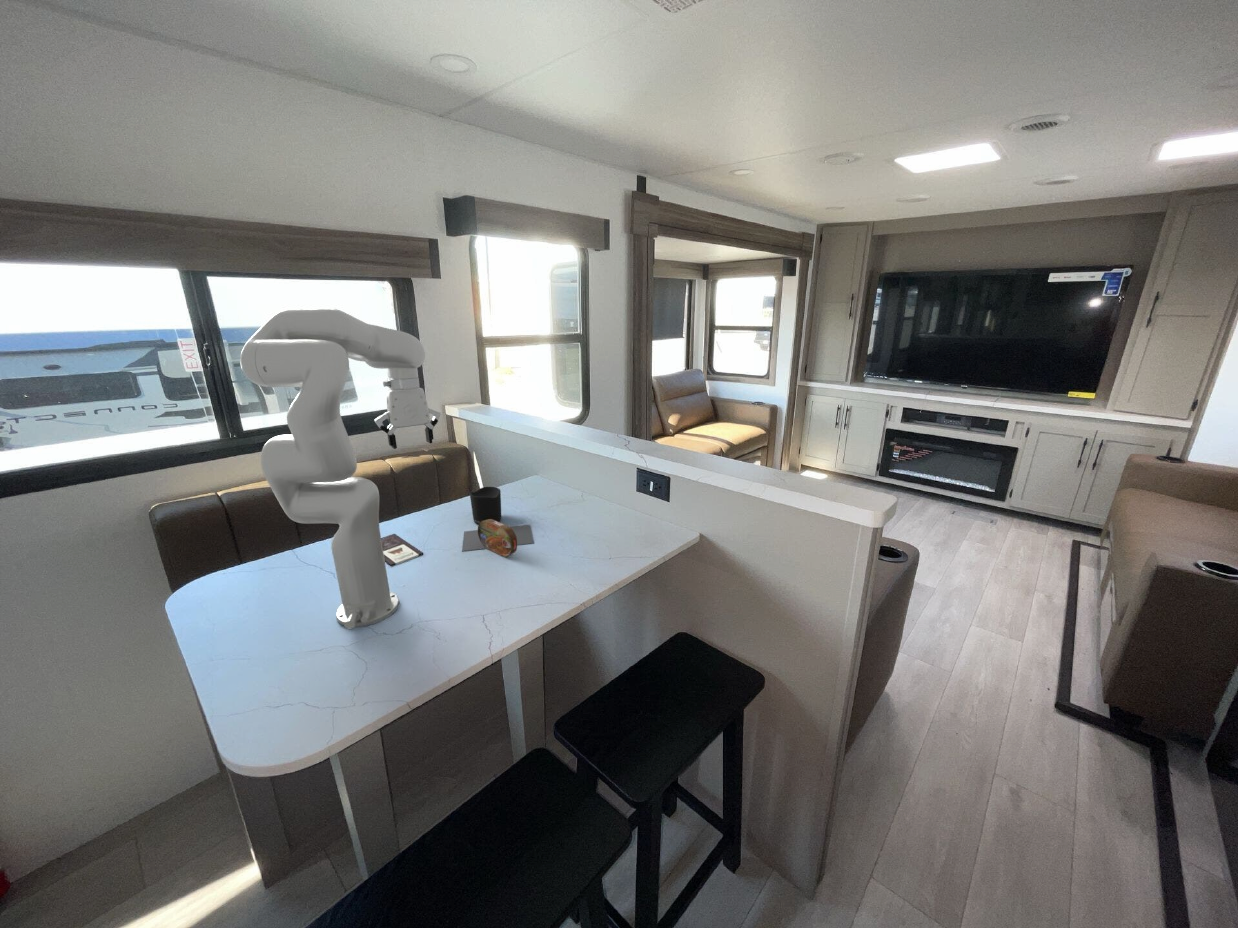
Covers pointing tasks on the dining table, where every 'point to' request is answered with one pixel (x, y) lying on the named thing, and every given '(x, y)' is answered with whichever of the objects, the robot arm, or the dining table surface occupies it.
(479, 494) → the pen holder
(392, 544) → the chocolate bar
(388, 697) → the dining table surface
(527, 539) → the mat
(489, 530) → the tin
